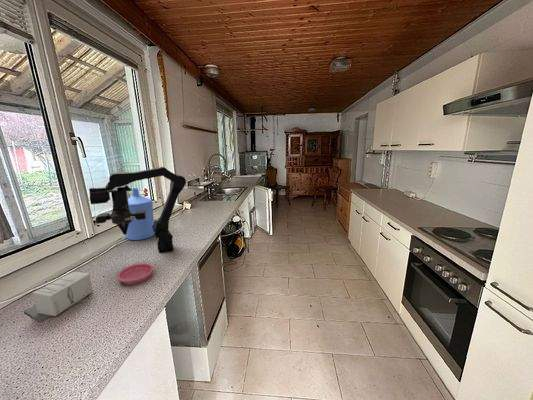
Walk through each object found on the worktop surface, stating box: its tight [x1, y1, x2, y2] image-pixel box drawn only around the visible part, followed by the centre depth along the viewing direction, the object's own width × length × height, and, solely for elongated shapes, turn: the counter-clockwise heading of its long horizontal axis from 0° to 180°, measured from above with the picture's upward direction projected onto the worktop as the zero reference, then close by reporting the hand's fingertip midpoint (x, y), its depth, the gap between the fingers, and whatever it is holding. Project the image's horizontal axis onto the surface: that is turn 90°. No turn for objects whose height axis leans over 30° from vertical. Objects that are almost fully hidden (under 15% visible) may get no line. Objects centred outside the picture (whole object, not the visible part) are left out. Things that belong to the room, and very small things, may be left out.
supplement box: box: [32, 271, 94, 317], centre depth 74 cm, size 7×7×13 cm
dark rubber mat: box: [23, 296, 87, 323], centre depth 74 cm, size 12×10×1 cm
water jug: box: [125, 188, 155, 241], centre depth 128 cm, size 16×16×28 cm
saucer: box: [116, 263, 154, 286], centre depth 89 cm, size 12×12×3 cm
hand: (125, 234), depth 101 cm, fingers closed
